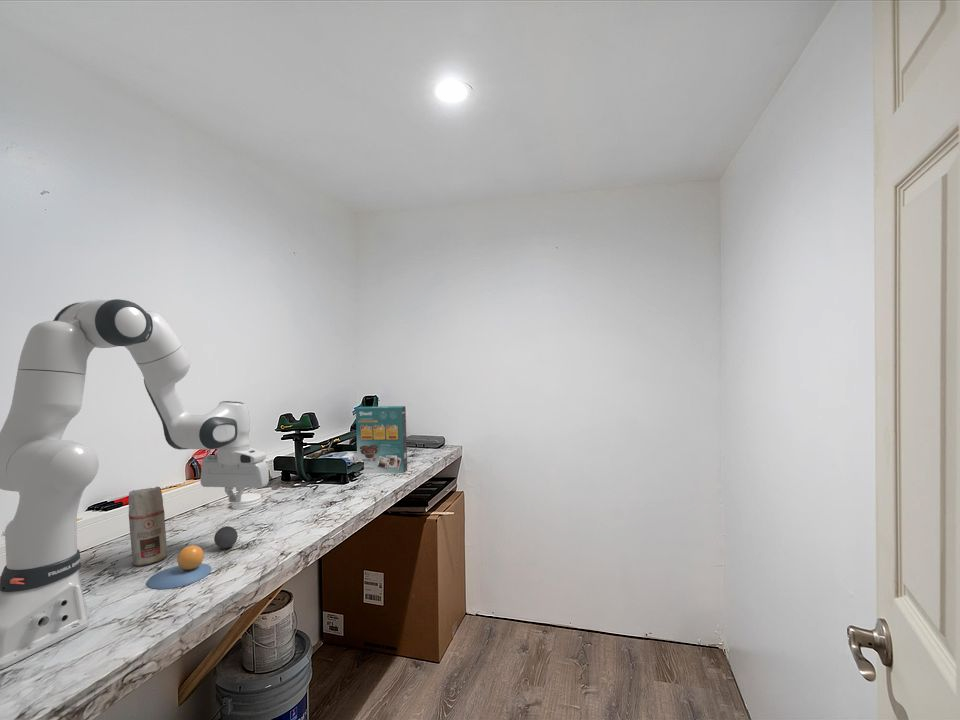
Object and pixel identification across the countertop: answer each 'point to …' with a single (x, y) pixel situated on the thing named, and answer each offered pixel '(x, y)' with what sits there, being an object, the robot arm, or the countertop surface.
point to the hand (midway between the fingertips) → (234, 501)
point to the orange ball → (190, 557)
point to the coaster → (247, 501)
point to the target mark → (177, 577)
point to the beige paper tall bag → (147, 526)
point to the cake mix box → (382, 439)
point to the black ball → (225, 537)
